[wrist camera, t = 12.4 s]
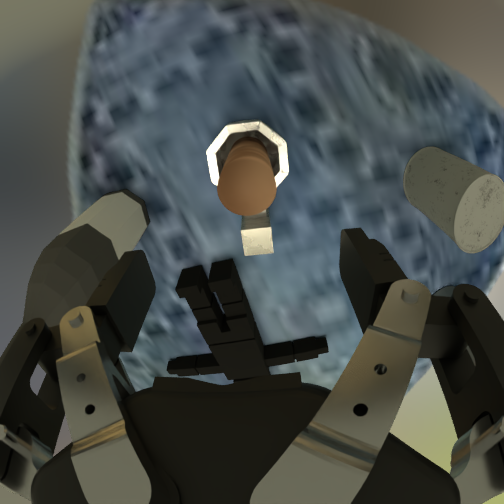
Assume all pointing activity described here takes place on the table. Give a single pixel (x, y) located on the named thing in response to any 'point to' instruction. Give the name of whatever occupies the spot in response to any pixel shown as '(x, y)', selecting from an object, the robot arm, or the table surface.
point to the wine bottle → (83, 257)
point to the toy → (232, 329)
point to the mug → (258, 225)
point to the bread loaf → (247, 178)
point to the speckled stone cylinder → (456, 197)
